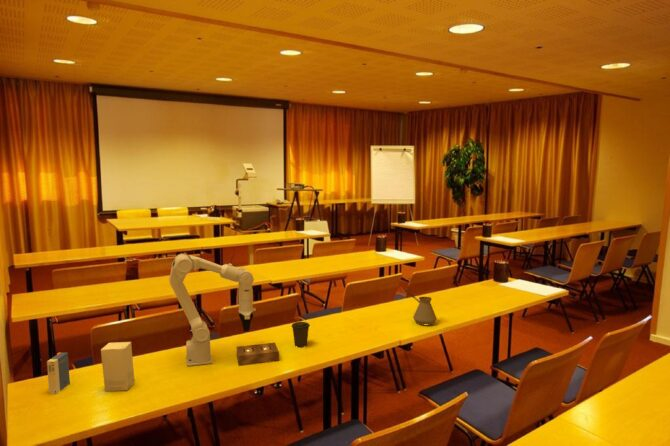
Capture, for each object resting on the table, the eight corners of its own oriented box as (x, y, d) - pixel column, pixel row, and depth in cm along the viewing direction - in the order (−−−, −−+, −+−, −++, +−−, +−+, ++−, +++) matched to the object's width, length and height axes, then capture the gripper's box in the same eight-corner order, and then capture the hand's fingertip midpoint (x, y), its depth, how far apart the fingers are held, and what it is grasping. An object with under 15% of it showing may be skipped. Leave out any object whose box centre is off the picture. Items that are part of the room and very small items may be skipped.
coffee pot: (441, 323, 227) (442, 294, 225) (425, 328, 220) (426, 298, 218) (410, 313, 244) (410, 286, 242) (394, 317, 237) (395, 289, 235)
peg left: (245, 360, 182) (245, 351, 182) (244, 358, 185) (244, 348, 185) (253, 360, 183) (252, 350, 183) (252, 357, 186) (252, 347, 186)
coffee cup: (307, 349, 195) (307, 326, 194) (289, 347, 196) (288, 325, 195) (312, 342, 203) (311, 320, 201) (294, 340, 204) (294, 319, 203)
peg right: (262, 358, 184) (262, 349, 184) (261, 356, 187) (261, 346, 187) (270, 358, 185) (270, 348, 185) (269, 355, 188) (269, 345, 188)
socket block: (238, 365, 178) (238, 356, 178) (236, 355, 188) (236, 346, 187) (279, 360, 183) (278, 351, 182) (275, 351, 192) (274, 342, 192)
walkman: (62, 383, 164) (60, 351, 162) (70, 383, 164) (67, 351, 162) (48, 394, 156) (45, 360, 155) (56, 394, 156) (54, 360, 155)
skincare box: (135, 382, 164) (132, 341, 162) (127, 391, 158) (125, 348, 156) (111, 383, 164) (109, 341, 162) (102, 391, 157) (100, 348, 156)
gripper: (257, 303, 181) (257, 335, 183) (253, 293, 195) (254, 324, 197) (239, 304, 180) (240, 337, 181) (237, 295, 194) (237, 325, 195)
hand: (246, 330), depth 189 cm, fingers closed
